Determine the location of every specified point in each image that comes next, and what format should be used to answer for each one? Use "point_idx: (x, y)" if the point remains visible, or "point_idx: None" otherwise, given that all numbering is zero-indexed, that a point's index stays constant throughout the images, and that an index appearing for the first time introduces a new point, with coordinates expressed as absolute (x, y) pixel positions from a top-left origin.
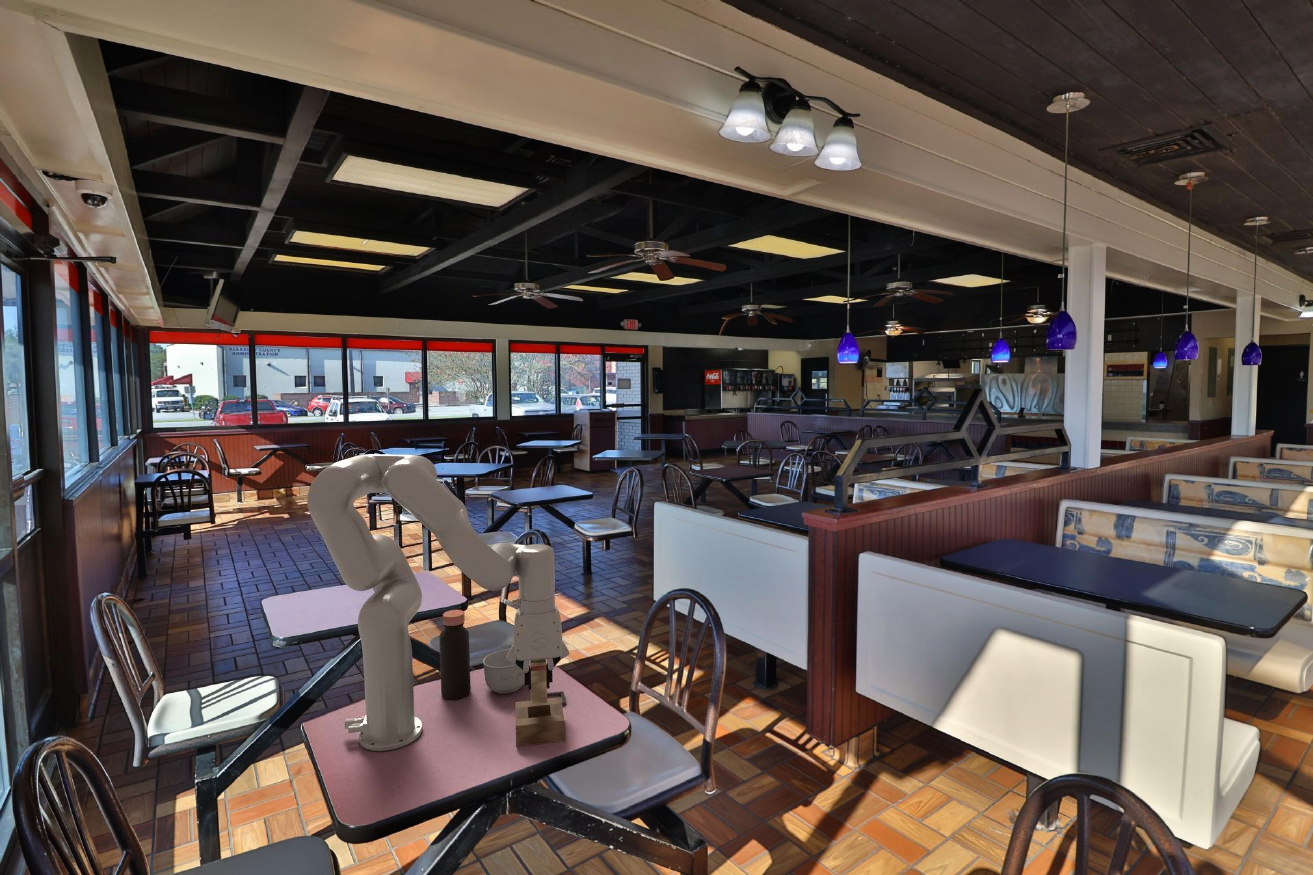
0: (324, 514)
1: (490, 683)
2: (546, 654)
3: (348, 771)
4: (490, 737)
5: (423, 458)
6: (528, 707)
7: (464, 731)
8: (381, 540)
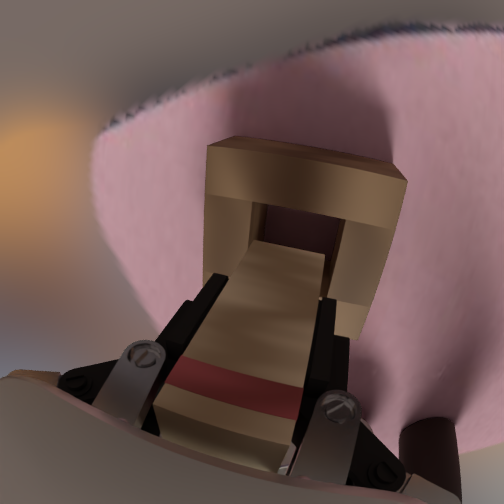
0: None
1: None
2: (83, 450)
3: None
4: (446, 248)
5: None
6: (324, 295)
7: (486, 304)
8: None
